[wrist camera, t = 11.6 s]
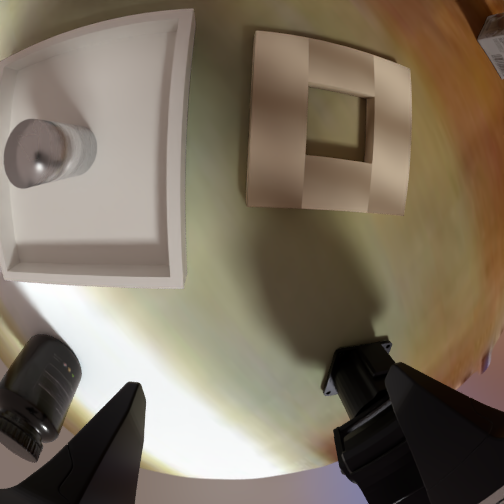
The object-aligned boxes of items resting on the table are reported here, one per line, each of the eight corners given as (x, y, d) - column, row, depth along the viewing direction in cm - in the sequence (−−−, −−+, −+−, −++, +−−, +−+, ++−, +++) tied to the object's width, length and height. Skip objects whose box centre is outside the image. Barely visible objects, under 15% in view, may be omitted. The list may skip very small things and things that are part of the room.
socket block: (395, 212, 20) (403, 215, 18) (245, 203, 18) (247, 206, 17) (401, 71, 16) (410, 68, 14) (253, 37, 14) (256, 30, 13)
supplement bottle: (55, 383, 22) (19, 462, 11) (21, 336, 19) (-33, 412, 8) (96, 379, 22) (62, 475, 11) (59, 326, 19) (-1, 421, 8)
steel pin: (97, 174, 16) (50, 184, 10) (56, 178, 15) (4, 192, 9) (98, 122, 14) (51, 111, 9) (56, 130, 14) (4, 127, 8)
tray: (187, 273, 19) (183, 288, 17) (19, 268, 17) (4, 280, 15) (196, 24, 13) (193, 8, 11) (16, 66, 11) (0, 61, 9)
